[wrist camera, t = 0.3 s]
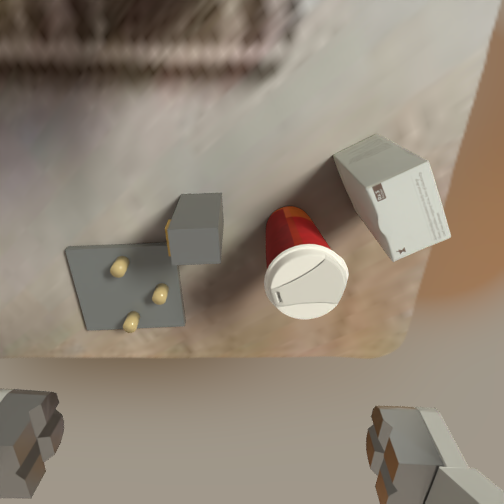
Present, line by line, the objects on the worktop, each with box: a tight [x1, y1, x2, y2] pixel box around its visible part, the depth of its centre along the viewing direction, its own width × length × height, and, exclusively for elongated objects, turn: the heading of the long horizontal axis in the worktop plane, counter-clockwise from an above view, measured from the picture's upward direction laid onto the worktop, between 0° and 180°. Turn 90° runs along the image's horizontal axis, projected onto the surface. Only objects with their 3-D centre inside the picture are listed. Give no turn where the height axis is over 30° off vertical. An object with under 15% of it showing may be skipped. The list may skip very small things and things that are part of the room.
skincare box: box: [333, 134, 451, 262], centre depth 40 cm, size 8×6×15 cm
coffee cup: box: [264, 206, 349, 319], centre depth 43 cm, size 8×8×15 cm
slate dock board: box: [65, 243, 186, 333], centre depth 51 cm, size 13×14×4 cm
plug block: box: [165, 193, 224, 265], centre depth 43 cm, size 4×6×11 cm
